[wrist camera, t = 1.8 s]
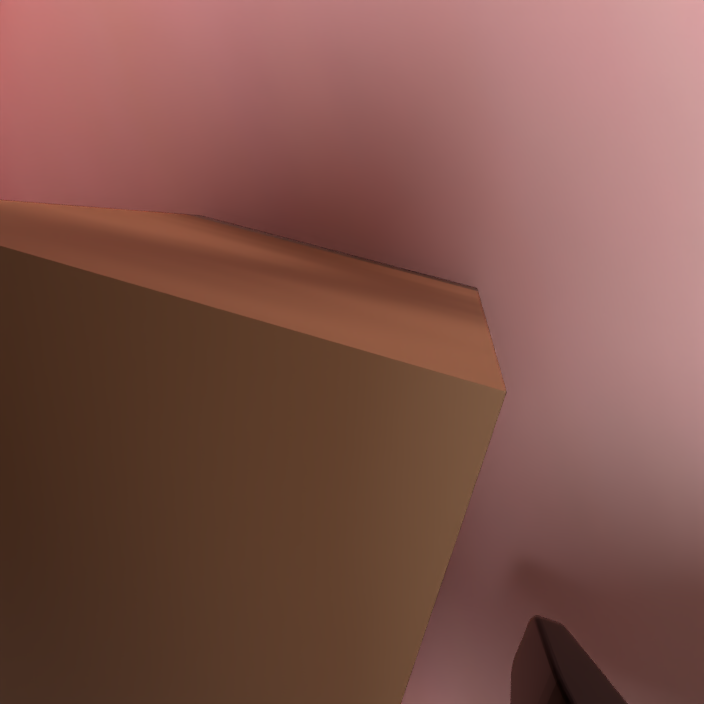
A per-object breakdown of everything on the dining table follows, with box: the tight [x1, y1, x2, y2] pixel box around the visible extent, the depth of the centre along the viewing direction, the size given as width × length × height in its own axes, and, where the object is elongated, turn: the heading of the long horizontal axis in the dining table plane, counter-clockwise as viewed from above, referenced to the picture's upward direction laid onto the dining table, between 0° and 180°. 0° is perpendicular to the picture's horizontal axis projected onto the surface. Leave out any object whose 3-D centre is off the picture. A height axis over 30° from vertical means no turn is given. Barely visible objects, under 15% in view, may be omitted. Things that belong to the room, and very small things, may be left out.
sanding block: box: [0, 200, 506, 704], centre depth 7 cm, size 5×9×6 cm, turn 166°
